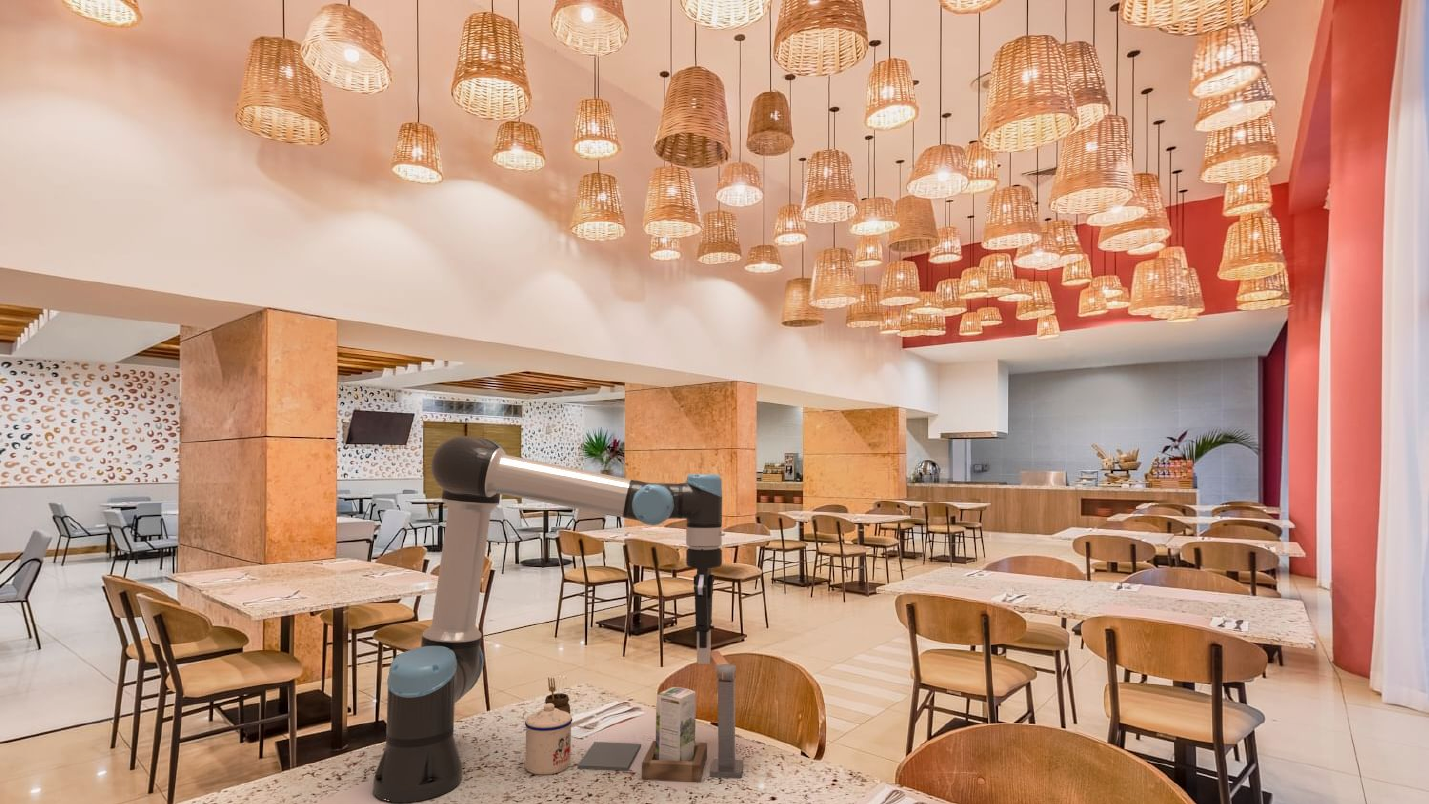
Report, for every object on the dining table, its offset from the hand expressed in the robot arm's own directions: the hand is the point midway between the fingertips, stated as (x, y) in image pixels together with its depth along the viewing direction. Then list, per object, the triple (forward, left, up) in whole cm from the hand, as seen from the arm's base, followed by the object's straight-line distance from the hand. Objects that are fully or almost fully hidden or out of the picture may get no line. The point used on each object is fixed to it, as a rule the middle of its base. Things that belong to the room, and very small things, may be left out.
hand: (703, 662), depth 147 cm
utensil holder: (-34, +10, -18) cm, 40 cm away
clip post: (+6, -8, -18) cm, 21 cm away
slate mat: (-18, -4, -18) cm, 26 cm away
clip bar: (+4, -2, 0) cm, 4 cm away
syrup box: (-4, -8, -18) cm, 20 cm away
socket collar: (-4, -8, -18) cm, 20 cm away
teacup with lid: (-29, -8, -18) cm, 36 cm away
